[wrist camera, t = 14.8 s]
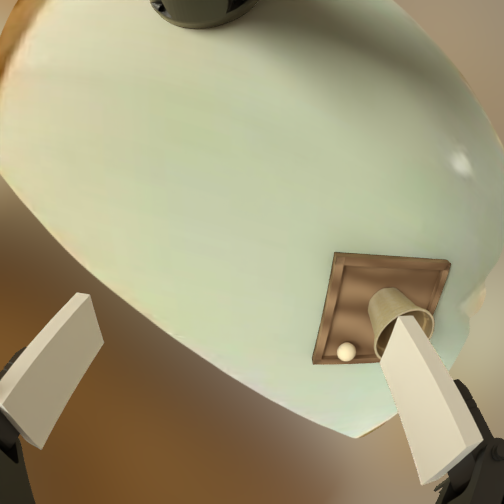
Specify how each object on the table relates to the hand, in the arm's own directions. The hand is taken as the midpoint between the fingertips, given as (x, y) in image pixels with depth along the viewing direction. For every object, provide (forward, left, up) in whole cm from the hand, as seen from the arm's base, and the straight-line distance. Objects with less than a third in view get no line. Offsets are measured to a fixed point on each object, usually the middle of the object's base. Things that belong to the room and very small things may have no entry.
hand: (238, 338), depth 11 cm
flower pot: (+15, +21, -26) cm, 37 cm away
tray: (+17, +21, -27) cm, 38 cm away
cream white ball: (+24, +16, -26) cm, 39 cm away
